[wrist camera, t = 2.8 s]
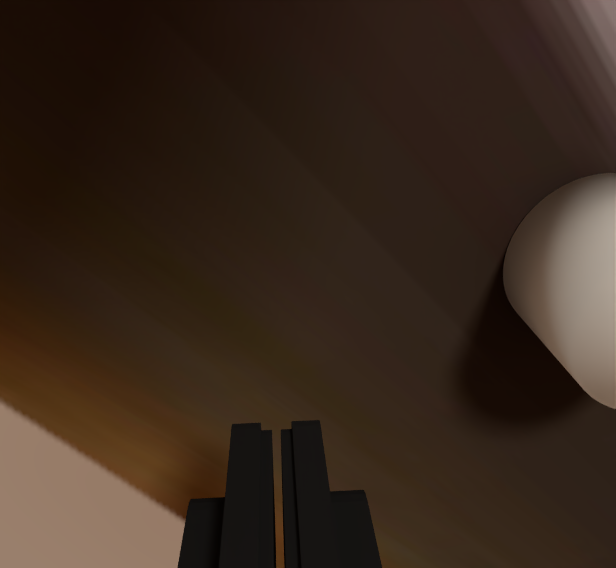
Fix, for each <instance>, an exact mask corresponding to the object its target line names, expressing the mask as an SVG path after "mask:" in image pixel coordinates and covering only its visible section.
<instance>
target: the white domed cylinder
mask: <svg viewBox="0 0 616 568" xmlns="http://www.w3.org/2000/svg"><path fill="white" fill-rule="evenodd" d="M503 283H504V289H505V292H506V295H507V298H508V300H509V302H510V304H511V306H512V307H513V308H514V310H515V311H516V312H517V314H518V315H519V316H520V317H521V318H522V319H523V321H524V322H525V323H526V324H527V325H528V326H529V327H530V329H531V330H532V331H533V332H534V333H535V334H536V335H537V337H538V338H539V339H540V340H541V341H542V342H543V344H544V345H545V346H546V347H547V348H548V349H549V350H550V352H551V353H552V354H553V355H554V356H555V357H556V358H557V360H558V361H559V362H560V363H561V364H562V365H563V367H564V368H565V369H566V370H567V371H568V372H569V373H570V375H571V376H572V377H573V378H574V379H575V380H576V381H577V383H578V384H579V385H580V386H581V387H582V388H583V389H584V391H585V392H587V393H588V394H589V395H590V396H591V397H592V398H594V399H595V400H597V401H598V402H600V403H602V404H604V405H606V406H608V407H611V408H615V409H616V173H602V174H596V175H590V176H586V177H583V178H580V179H577V180H574V181H572V182H570V183H568V184H566V185H564V186H562V187H560V188H558V189H557V190H555V191H553V192H552V193H551V194H549V195H548V196H546V197H545V198H544V199H542V200H541V201H540V202H539V203H538V204H537V205H536V206H535V207H534V208H533V209H532V210H531V211H530V212H529V213H528V214H527V215H526V217H525V218H524V219H523V220H522V222H521V223H520V225H519V226H518V227H517V229H516V231H515V233H514V235H513V236H512V238H511V241H510V243H509V246H508V248H507V251H506V255H505V259H504V265H503Z"/></svg>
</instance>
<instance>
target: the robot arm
mask: <svg viewBox="0 0 616 568" xmlns="http://www.w3.org/2000/svg"><path fill="white" fill-rule="evenodd" d="M281 455H282V494H283V533H284V564H285V568H382V565H381V560H380V556H379V551H378V547H377V542H376V538H375V533H374V529H373V524H372V520H371V515H370V510H369V506H368V501H367V498H366V494H365V492H364V490H352V491H333V492H330V489H329V482H328V475H327V468H326V461H325V454H324V446H323V439H322V432H321V425H320V421H319V420H312V421H292V429H285V430H281ZM178 568H276V538H275V507H274V478H273V449H272V430H263V431H261V423H246V424H232V429H231V439H230V450H229V461H228V472H227V482H226V493H225V497H221V498H202V499H191V500H190V502H189V506H188V510H187V516H186V522H185V528H184V533H183V540H182V545H181V551H180V557H179V562H178Z"/></svg>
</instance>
